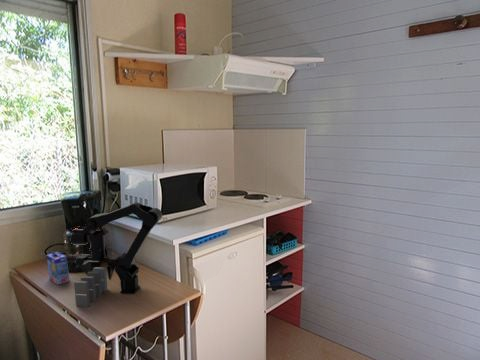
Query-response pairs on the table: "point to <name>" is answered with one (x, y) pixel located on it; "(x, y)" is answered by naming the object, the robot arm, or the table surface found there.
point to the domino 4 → (102, 277)
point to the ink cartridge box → (58, 267)
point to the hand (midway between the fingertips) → (100, 278)
